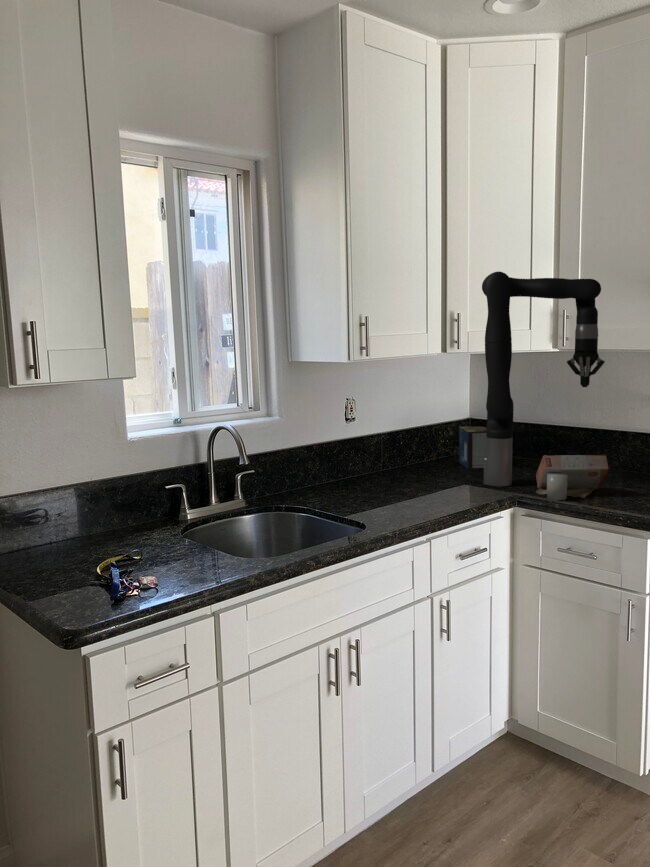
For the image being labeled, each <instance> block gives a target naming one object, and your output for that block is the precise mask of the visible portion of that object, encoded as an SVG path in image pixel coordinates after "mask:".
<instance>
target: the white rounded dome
mask: <svg viewBox="0 0 650 867" xmlns="http://www.w3.org/2000/svg"><path fill="white" fill-rule="evenodd" d="M567 481H568V475H567V474H564V473H548V474H547V495H546V499H547V500H550V501H558V500H563V501H566V499H567V500H568V497H567Z"/></svg>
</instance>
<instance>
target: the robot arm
mask: <svg viewBox="0 0 650 867" xmlns="http://www.w3.org/2000/svg"><path fill="white" fill-rule="evenodd" d="M481 289H482V290H481V291H482V292H483V295H484V296H485V297H486V302H487V319H486V325H485V333H484V354H485V355H484V357H485V367H486V374H487V394H486V395H487V396H486V404H485V408H486V428H487V429H486V458H484V468H483V485H486V486H490V487H508V486H512V484H513V483H512V482H513V481H512V480H513V478H512V477H513V441H514V440H513V438H514V437H513V436H514V434H513V433H514V401H513V398H512V396H511V389H510V388H511V385H510V376H511V375H510V374H511V367H512V359H513V358H512V356H513V348H512V347H513V345H512V344H513V341H512V338H513V337H512V328H511V317H510V316H511V315H510V304H511V298H514V297H515V298H516V297H517V298H519V297H521V298H522V297H525V298H539V299H540V298H541V299H552V300H553V299H554V300H555V299H556V300H564V299H565V300H566V299H575V308H576V320H575V324H576V326H575V331H574V336H575V337H574V353H573V355H572V357H571V358H570V359H568V360H567V361H566V364H567V365H568V366H569V367H570V369H571V370H572V372H573V374H575V375H577V376H579V378H580V380H579V382H580V384H579V385H580V386H581V387H582V388H588V386H590V381H591V380H590V377H591V376H593V375H596V374H597V372H599V370H600V369H601V368H602V367H603V366H604V364H605V360H603V359H601V358H600V356H599V355H600V354H599V353H598V344H599V343H598V342H599V328H598V327H599V325H598V324H599V321H598V320H599V319H598V318H599V311H598V309H597V307H596V298H597V297H599V295H600V294H601V292H602V286H601V283H600V282H599V281H598V280H596V279H593V278H563V277H561V278H559V277H558V278H557V277H541V278H540V277H539V278H538V277H535V278H518V277H510V276H509V275H508V274H507V273H505V272H503V271H494V272H492V273H490V274H488V275H487V276H486V277H485V278H484V280H483V282H482V284H481ZM595 363H596V365H595ZM576 364H577V365H578V366H579V368H578V367H577V366H576ZM593 365H595V366H594V368H593V369H592V366H593ZM591 370H592V371H591Z"/></svg>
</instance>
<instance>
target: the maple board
mask: <svg viewBox="0 0 650 867" xmlns="http://www.w3.org/2000/svg"><path fill="white" fill-rule="evenodd" d="M596 489H597V488H567V496H573V497H572V498H575V497H581V498H580V499H586V498H587V497H588V496H590V495H591V494H592V493H593V492H594V491H595V490H596ZM593 490H594V491H593ZM592 491H593V492H592ZM536 493H537V495H545V494H547V488H537V490H535V494H536ZM587 495H588V496H587ZM586 496H587V497H586ZM585 497H586V498H585Z"/></svg>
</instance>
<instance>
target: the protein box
mask: <svg viewBox="0 0 650 867" xmlns="http://www.w3.org/2000/svg"><path fill="white" fill-rule="evenodd" d="M486 429H487V427H485V426H483V425H481V426H459V430H458V432H459V433H458V434H459V436H458V437H459V438H458V440H459V441H458V444H459V445H458V446H459V448H458V452H459V453H458V457H459V458H458V461H459V464H461V465H462V466H463V467H465V468H466V469H467V470H472V469H473V470H477V469H479V470H480V469H481V470H483V469H484V458H486Z"/></svg>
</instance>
